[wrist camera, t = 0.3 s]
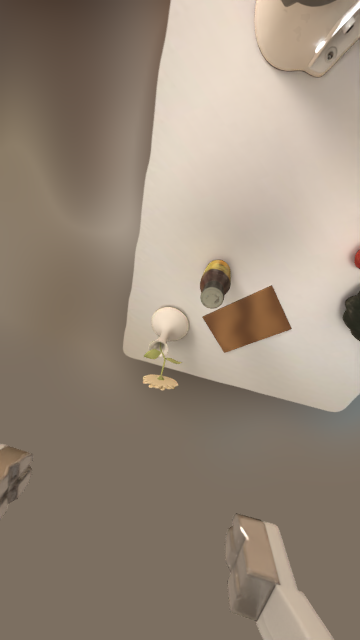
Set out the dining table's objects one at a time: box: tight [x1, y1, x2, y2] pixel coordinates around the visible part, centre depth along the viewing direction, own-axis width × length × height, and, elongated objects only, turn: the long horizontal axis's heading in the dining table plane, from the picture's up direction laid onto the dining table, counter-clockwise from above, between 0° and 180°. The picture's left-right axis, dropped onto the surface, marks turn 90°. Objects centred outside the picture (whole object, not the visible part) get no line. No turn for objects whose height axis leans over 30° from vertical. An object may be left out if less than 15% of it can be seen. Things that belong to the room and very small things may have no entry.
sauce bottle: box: [200, 260, 231, 309], centre depth 44 cm, size 7×6×20 cm
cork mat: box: [203, 286, 291, 353], centre depth 58 cm, size 20×14×1 cm
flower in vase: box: [143, 307, 189, 390], centre depth 52 cm, size 13×11×25 cm
